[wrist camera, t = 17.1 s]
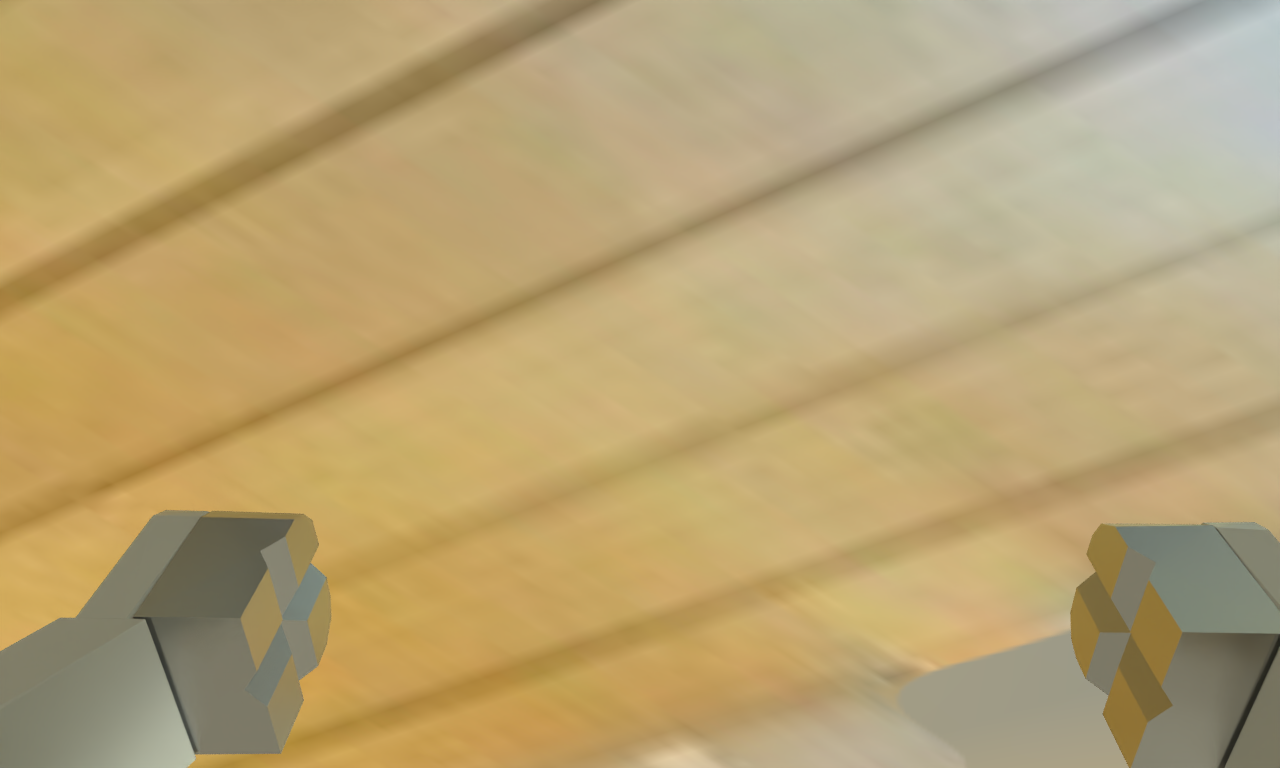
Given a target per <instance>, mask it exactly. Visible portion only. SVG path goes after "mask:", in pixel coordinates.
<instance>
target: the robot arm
mask: <svg viewBox="0 0 1280 768" xmlns="http://www.w3.org/2000/svg"><path fill="white" fill-rule="evenodd" d="M318 546H319V543H318V539H317V536H316V532H315V529H314V525H313V521H312V520H311V519H310V518H309V517H307V516H306V515H304V514H291V513H261V512H232V511H211V512H207V511H179V510H165V511H163V512H161V513H158V514H156V515H154V516H153V517H152V518H151V519H150V520H149V521H148V523H147V524H146V525H145V527H144V528H143V529H142V531H141V532H140V533H139V535H138V536H137V537H136V539H135V540H134V541H133V542H132V544H131V545H130V546H129V548H128V549H127V550H126V552H125V553H124V554H123V556H122V557H121V558H120V560H119V561H118V562H117V564H116V565H115V566H114V568H113V569H112V570H111V571H110V573H109V574H108V575H107V577H106V578H105V579H104V581H103V582H102V583H101V585H100V586H99V587H98V589H97V590H96V591H95V593H94V594H93V595H92V597H91V598H90V599H89V600H88V602H87V603H86V604H85V606H84V607H83V608H82V610H81V611H80V612H79V614H78V615H77V616H76V618H59V619H57V620H55V621H54V622H52V623H50V624H48V625H46V626H45V627H43V628H41V629H39V630H37V631H36V632H34V633H32V634H30V635H29V636H27V637H25V638H23V639H21V640H20V641H18V642H16V643H14V644H13V645H11V646H9V647H7V648H5V649H4V650H2V651H0V768H187V767H188V766H189V765H190V764H191V763H192V762H193V761H194V760H196V756H195V754H281V752H282V750H283V747H284V745H285V743H286V740H287V738H288V736H289V733H290V731H291V729H292V726H293V724H294V722H295V719H296V717H297V715H298V712H299V710H300V708H301V705H302V703H303V701H304V699H303V695H302V691H301V687H300V684H299V680H300V679H302V678H303V677H304V676H305V675H307V674H308V673H309V672H311V671H312V670H313V669H315V668H316V667H317V666H318V665H319V662H320V660H321V657H322V655H323V652H324V650H325V647H326V645H327V639H328V633H329V627H330V621H331V599H330V591H329V587H328V582H327V577H325V576H324V575H323V574H322V573H321V572H320V571H319V570H318V569H317V568H316V567H314V566H313V565H312V564H311V561H312V558H313V556H314V554H315V552H316V550H317V548H318ZM1087 556H1088V558H1089V560H1090V562H1091V564H1092V565H1093V567H1094V569H1095V571H1096V572H1095V573H1094V574H1093V575H1091V576H1090V577H1089V578H1088V579H1086V580H1085V581H1084V582H1083V583H1082V584H1080V585H1079V586H1078V587H1077V588H1076V592H1075V596H1074V600H1073V604H1072V608H1071V613H1070V614H1071V639H1072V643H1073V647H1074V651H1075V655H1076V659H1077V660H1078V663H1079V665H1080V667H1081V669H1082V672H1083V674H1084V676H1085V678H1086V679H1087V680H1088V681H1090V682H1091V683H1093V684H1094V685H1095V686H1096V687H1098V688H1099V689H1100V690H1102V691H1103V692H1105V693H1106V694H1107V695H1109V696H1108V700H1107V702H1106V705H1105V708H1104V711H1103V716H1104V718H1105V720H1106V722H1107V724H1108V726H1109V728H1110V730H1111V732H1112V734H1113V736H1114V738H1115V740H1116V742H1117V744H1118V746H1119V748H1120V750H1121V752H1122V754H1123V756H1124V758H1125V760H1126V762H1127V764H1128V766H1129V768H1280V543H1279V542H1278V541H1277V539H1276V538H1275V537H1274V536H1273V535H1272V533H1271V532H1270V531H1269V530H1268V529H1266V528H1265V527H1263V526H1261V525H1259V524H1257V523H1255V522H1229V523H1202V524H1101V525H1100V526H1099V527H1098V529H1097V530H1096V531H1095V532H1094V534H1093V535H1092V538H1091V541H1090V545H1089V548H1088V551H1087Z"/></svg>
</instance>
